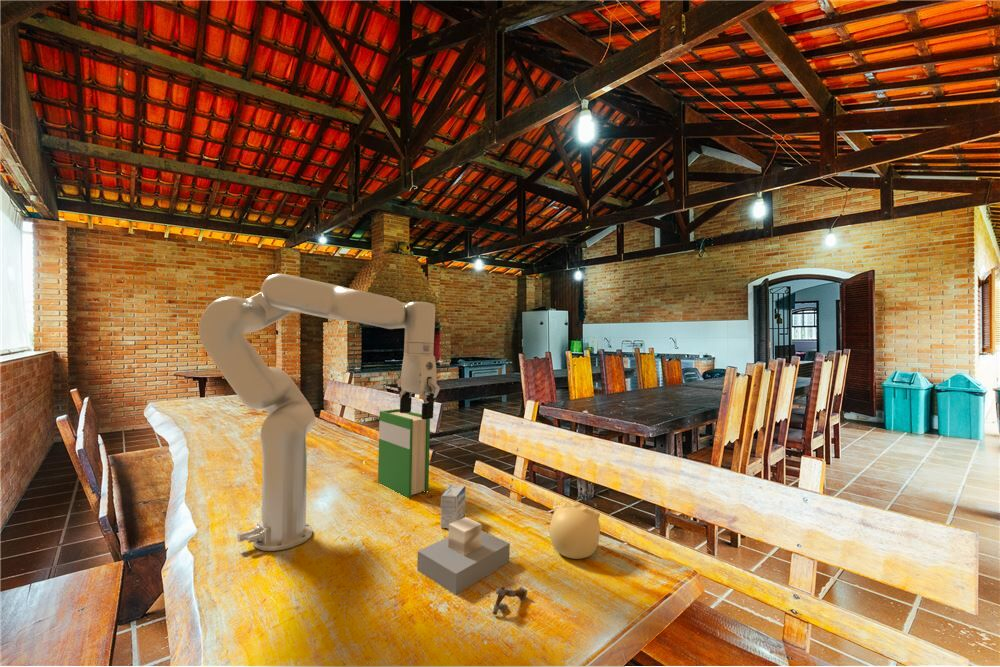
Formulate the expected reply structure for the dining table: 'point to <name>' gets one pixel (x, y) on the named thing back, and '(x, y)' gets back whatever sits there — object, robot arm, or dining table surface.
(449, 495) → the medicine box
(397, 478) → the hardback book
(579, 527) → the sculpture
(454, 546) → the wooden cube
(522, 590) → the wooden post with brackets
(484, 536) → the stand
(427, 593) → the dining table surface
